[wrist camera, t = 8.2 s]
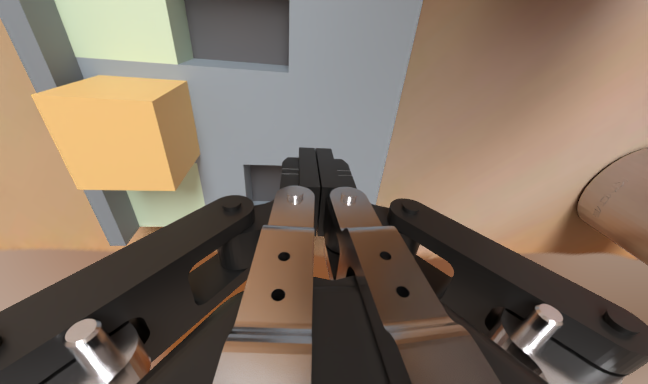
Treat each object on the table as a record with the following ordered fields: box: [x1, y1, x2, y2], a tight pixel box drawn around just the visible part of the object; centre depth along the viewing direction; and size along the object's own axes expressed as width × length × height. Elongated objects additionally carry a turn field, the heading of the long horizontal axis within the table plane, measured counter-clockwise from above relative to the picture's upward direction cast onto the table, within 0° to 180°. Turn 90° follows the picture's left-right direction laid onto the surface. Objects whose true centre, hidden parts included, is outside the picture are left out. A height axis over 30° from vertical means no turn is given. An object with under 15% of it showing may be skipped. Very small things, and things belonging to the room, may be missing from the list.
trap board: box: [0, 0, 423, 246], centre depth 17 cm, size 19×17×5 cm
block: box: [31, 75, 200, 191], centre depth 14 cm, size 4×4×4 cm
